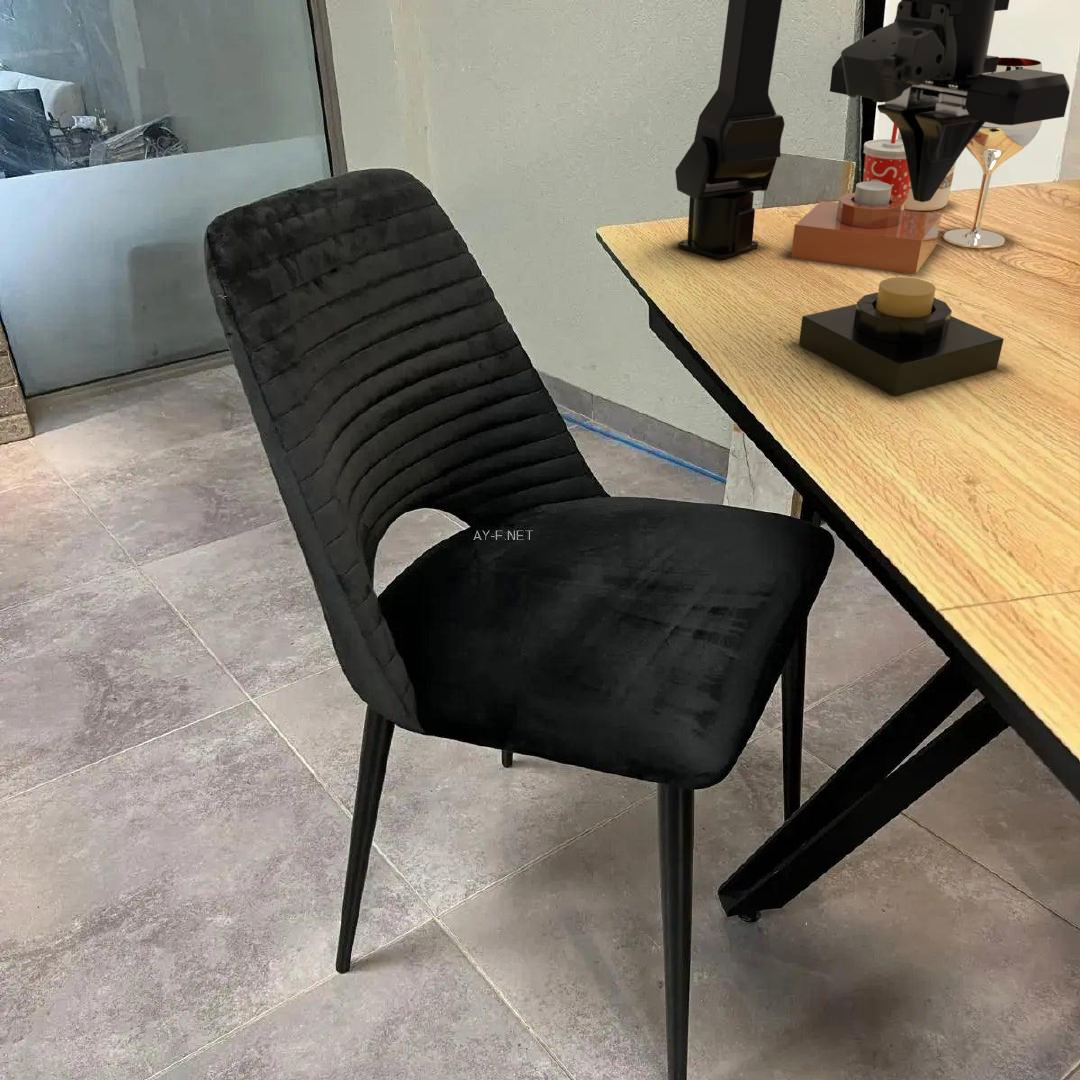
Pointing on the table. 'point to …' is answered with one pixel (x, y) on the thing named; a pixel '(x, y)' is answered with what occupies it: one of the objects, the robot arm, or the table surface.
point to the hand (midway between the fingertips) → (921, 200)
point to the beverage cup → (887, 164)
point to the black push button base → (900, 345)
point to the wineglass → (994, 160)
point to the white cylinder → (872, 193)
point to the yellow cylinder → (905, 297)
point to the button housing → (867, 235)
